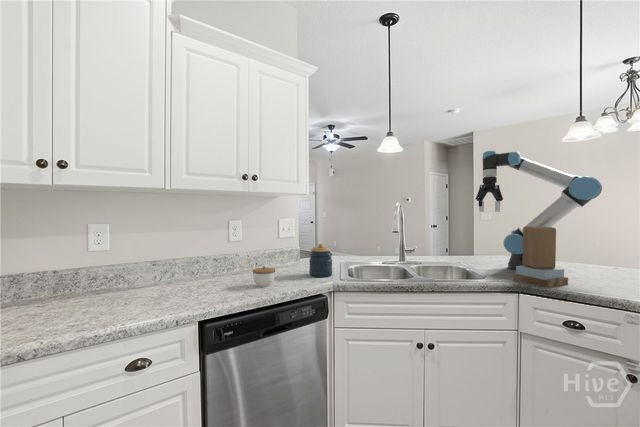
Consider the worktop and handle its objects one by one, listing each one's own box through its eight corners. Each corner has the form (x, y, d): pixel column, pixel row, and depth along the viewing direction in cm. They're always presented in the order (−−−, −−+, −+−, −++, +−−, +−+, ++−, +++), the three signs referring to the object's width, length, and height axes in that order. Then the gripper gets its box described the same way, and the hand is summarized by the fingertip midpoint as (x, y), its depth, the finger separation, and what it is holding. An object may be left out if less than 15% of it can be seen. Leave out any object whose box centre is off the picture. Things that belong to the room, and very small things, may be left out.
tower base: (534, 278, 162) (534, 271, 162) (568, 285, 148) (568, 277, 147) (513, 281, 156) (513, 273, 156) (546, 289, 142) (546, 280, 142)
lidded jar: (264, 289, 141) (264, 269, 141) (248, 286, 147) (247, 266, 146) (279, 284, 150) (279, 265, 150) (263, 281, 156) (263, 263, 156)
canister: (327, 272, 179) (327, 242, 179) (335, 276, 167) (335, 244, 167) (306, 273, 175) (306, 242, 175) (313, 278, 163) (312, 245, 163)
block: (539, 265, 158) (540, 226, 157) (556, 269, 148) (557, 227, 147) (521, 265, 157) (522, 226, 156) (537, 269, 147) (538, 227, 146)
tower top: (534, 271, 161) (534, 264, 161) (564, 277, 148) (564, 269, 148) (516, 274, 156) (516, 266, 156) (544, 279, 143) (544, 271, 143)
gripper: (498, 178, 195) (498, 211, 195) (469, 176, 186) (469, 211, 186) (509, 177, 188) (509, 211, 188) (479, 175, 179) (479, 211, 179)
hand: (489, 211), depth 187 cm, fingers open, 13 cm apart
